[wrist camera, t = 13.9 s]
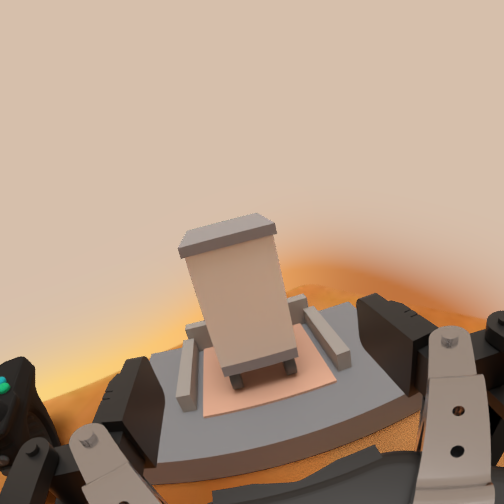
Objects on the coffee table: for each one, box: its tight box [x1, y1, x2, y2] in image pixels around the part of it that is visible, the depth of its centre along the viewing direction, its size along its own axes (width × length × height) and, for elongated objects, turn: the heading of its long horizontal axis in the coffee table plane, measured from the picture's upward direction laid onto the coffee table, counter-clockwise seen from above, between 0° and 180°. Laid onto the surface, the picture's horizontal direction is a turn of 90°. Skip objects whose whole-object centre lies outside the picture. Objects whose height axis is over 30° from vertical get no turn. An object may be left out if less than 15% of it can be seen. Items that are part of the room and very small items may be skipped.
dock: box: [143, 294, 423, 485], centre depth 21 cm, size 20×14×5 cm
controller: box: [0, 357, 61, 476], centre depth 14 cm, size 4×12×10 cm, turn 31°
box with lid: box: [178, 213, 299, 390], centre depth 20 cm, size 5×6×11 cm
